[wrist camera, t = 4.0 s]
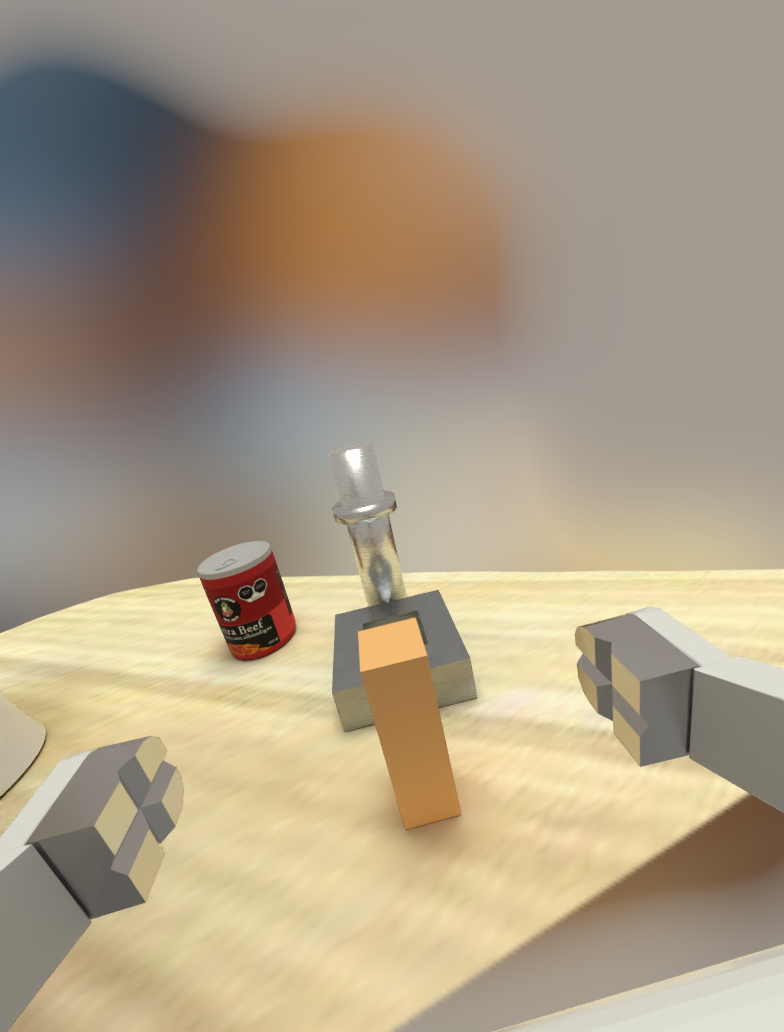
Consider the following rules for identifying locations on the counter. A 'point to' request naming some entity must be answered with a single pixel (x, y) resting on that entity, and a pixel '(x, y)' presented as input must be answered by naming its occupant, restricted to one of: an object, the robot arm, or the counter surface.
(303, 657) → the counter surface
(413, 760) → the tall orange pillar block
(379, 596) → the grey socket with post
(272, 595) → the canned food
